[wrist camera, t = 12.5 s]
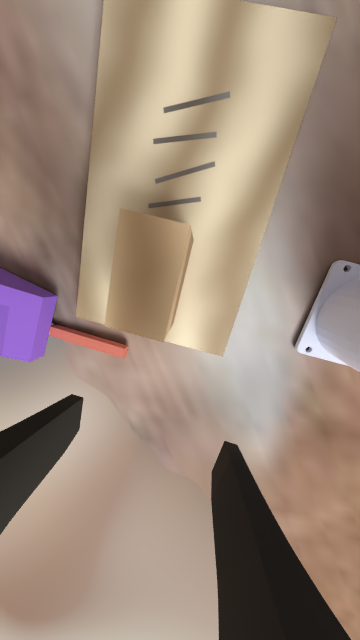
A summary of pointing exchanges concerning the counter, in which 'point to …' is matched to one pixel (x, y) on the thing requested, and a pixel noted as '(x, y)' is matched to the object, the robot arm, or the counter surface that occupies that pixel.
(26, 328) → the bracket
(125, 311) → the block
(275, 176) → the board
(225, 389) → the counter surface
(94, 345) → the red square bar
